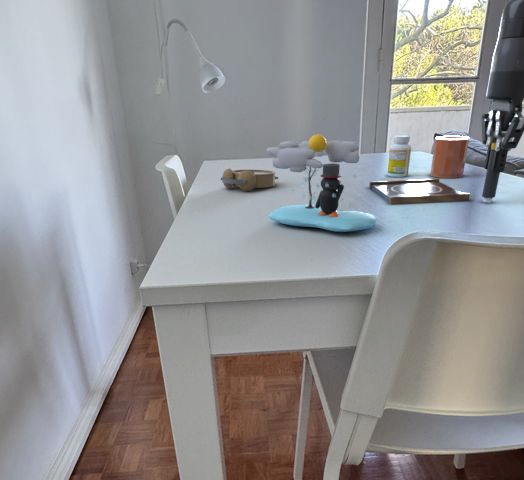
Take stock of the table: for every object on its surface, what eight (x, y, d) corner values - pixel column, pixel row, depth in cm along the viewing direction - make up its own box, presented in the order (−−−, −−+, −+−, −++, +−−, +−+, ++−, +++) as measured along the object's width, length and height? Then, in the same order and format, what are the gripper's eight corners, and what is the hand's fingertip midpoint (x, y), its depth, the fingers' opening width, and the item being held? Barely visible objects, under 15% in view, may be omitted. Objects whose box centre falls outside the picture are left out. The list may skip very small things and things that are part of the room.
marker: (490, 200, 97) (502, 142, 91) (496, 202, 95) (508, 143, 89) (478, 200, 97) (489, 142, 91) (484, 203, 95) (495, 144, 89)
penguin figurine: (384, 226, 83) (393, 131, 75) (354, 241, 76) (360, 138, 68) (293, 212, 94) (292, 128, 87) (259, 224, 87) (255, 134, 80)
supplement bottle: (398, 178, 122) (402, 137, 117) (382, 175, 126) (386, 136, 121) (412, 175, 124) (417, 135, 119) (397, 172, 128) (401, 134, 123)
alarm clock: (285, 172, 118) (244, 169, 107) (283, 192, 120) (242, 192, 109) (252, 168, 124) (210, 165, 114) (250, 188, 126) (209, 187, 116)
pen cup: (455, 172, 126) (461, 135, 122) (468, 177, 119) (474, 138, 115) (425, 173, 126) (430, 136, 122) (437, 178, 119) (442, 140, 115)
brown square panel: (437, 184, 113) (438, 178, 112) (469, 200, 98) (470, 193, 97) (369, 187, 112) (369, 181, 112) (390, 204, 97) (390, 197, 96)
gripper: (557, 66, 78) (531, 175, 87) (514, 68, 90) (495, 164, 99) (513, 68, 78) (491, 177, 87) (475, 70, 90) (460, 166, 99)
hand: (493, 170), depth 93 cm, fingers closed on marker, 2 cm apart
